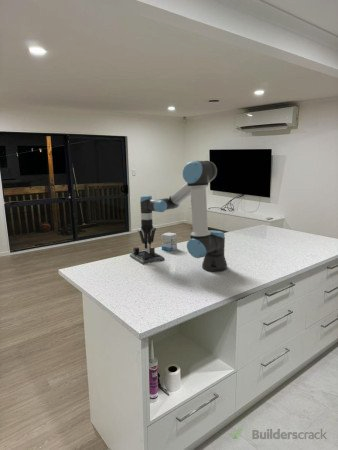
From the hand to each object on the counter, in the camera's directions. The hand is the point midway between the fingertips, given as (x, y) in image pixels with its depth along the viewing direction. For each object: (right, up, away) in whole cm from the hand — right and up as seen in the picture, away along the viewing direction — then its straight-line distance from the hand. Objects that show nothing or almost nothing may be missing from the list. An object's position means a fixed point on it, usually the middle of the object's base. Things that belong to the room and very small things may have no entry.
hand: (147, 252), depth 215 cm
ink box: (+15, +1, +21) cm, 26 cm away
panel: (-1, -4, 0) cm, 4 cm away
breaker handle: (+3, -1, +2) cm, 4 cm away
